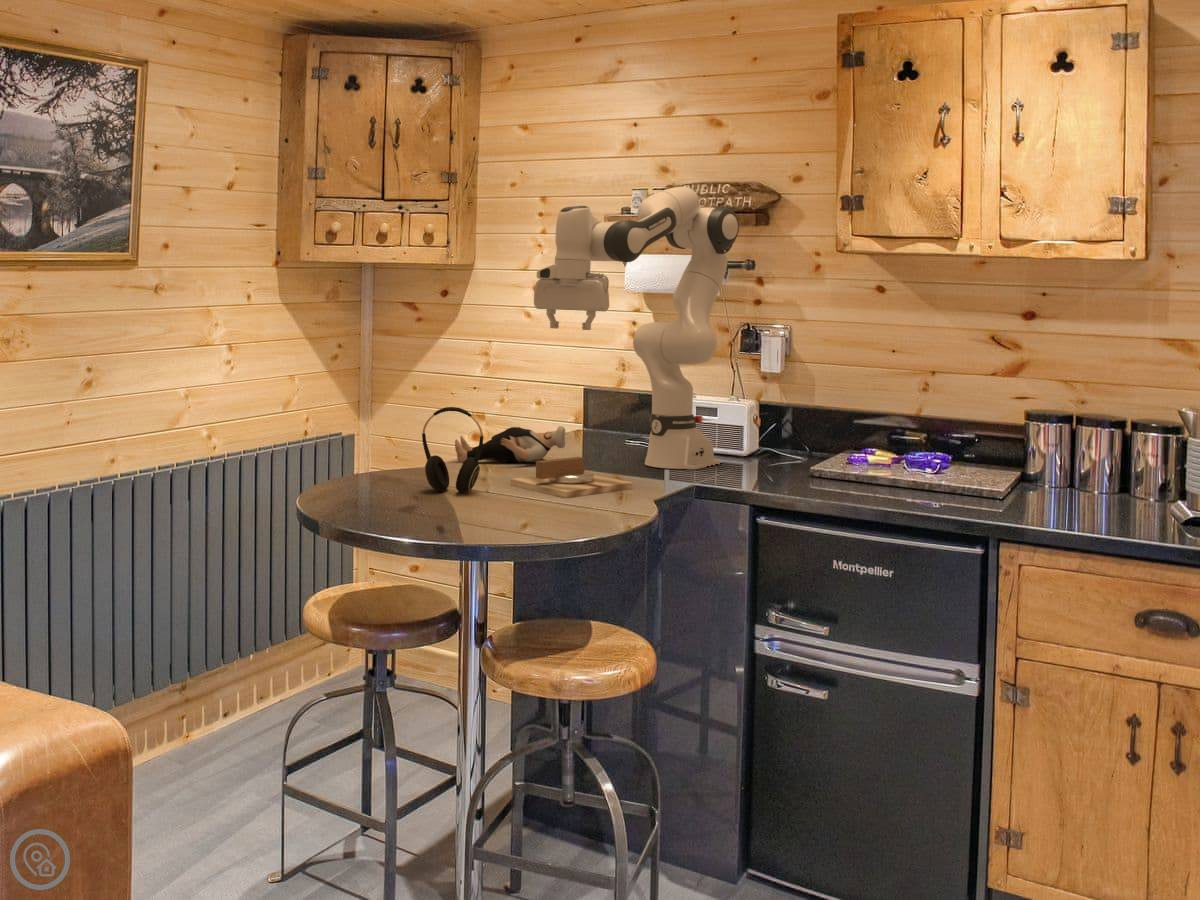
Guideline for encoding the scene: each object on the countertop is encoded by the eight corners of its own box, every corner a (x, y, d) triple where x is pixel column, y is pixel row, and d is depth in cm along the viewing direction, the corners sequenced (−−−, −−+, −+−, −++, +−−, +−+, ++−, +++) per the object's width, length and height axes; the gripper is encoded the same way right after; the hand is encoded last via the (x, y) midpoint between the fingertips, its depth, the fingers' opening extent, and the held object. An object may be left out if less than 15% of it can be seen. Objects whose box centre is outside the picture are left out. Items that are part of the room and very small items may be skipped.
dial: (574, 474, 280) (574, 453, 279) (603, 480, 272) (603, 459, 271) (524, 480, 270) (524, 459, 269) (553, 486, 261) (553, 464, 261)
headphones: (428, 487, 268) (428, 403, 265) (488, 490, 266) (488, 406, 263) (416, 493, 260) (415, 407, 257) (477, 496, 257) (478, 410, 254)
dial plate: (576, 476, 287) (576, 470, 287) (632, 488, 271) (632, 481, 271) (510, 484, 273) (510, 477, 273) (565, 498, 258) (565, 490, 257)
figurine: (464, 431, 321) (566, 414, 319) (471, 467, 323) (573, 450, 320) (447, 442, 298) (557, 423, 296) (455, 480, 300) (565, 462, 297)
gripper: (615, 273, 273) (612, 331, 274) (545, 272, 283) (543, 327, 285) (601, 272, 267) (599, 330, 269) (531, 271, 278) (529, 327, 279)
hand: (570, 329), depth 277 cm, fingers open, 8 cm apart
